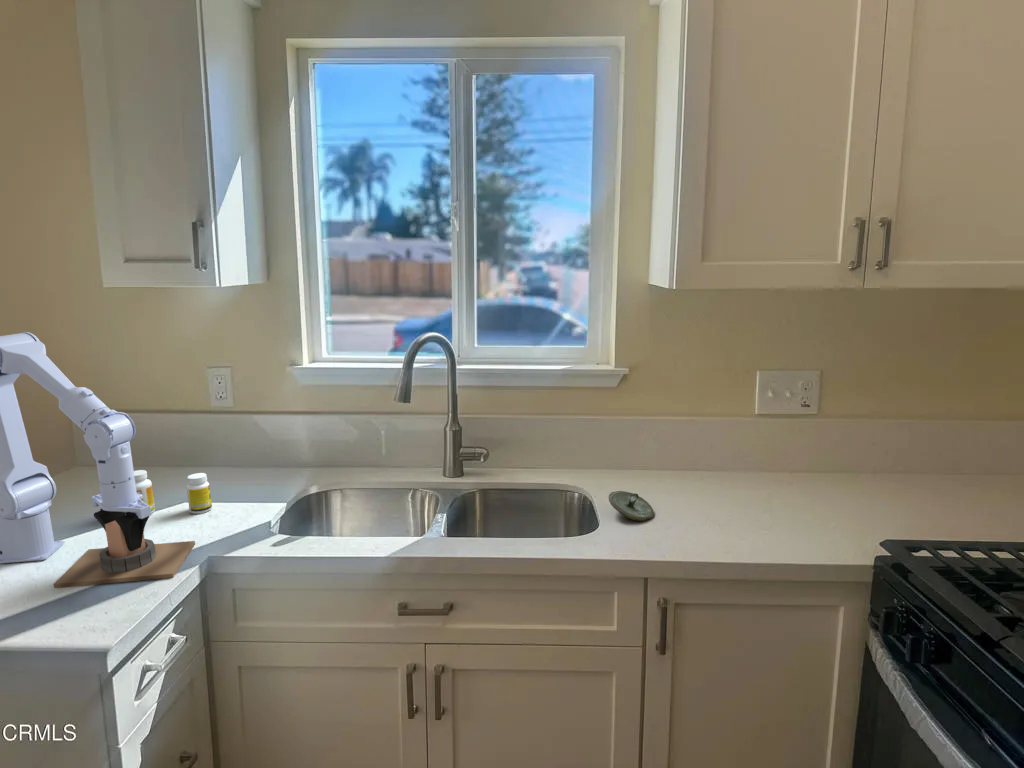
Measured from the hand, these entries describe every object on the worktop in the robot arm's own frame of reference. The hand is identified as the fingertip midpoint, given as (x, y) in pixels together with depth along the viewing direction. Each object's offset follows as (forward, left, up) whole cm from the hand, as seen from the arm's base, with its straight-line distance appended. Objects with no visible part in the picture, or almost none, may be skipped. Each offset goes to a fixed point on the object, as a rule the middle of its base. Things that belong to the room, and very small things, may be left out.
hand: (126, 546), depth 128 cm
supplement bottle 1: (-7, +27, -4) cm, 28 cm away
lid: (+102, +5, -4) cm, 102 cm away
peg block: (0, 0, -2) cm, 2 cm away
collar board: (0, 0, -4) cm, 4 cm away
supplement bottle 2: (+6, +26, -4) cm, 27 cm away
